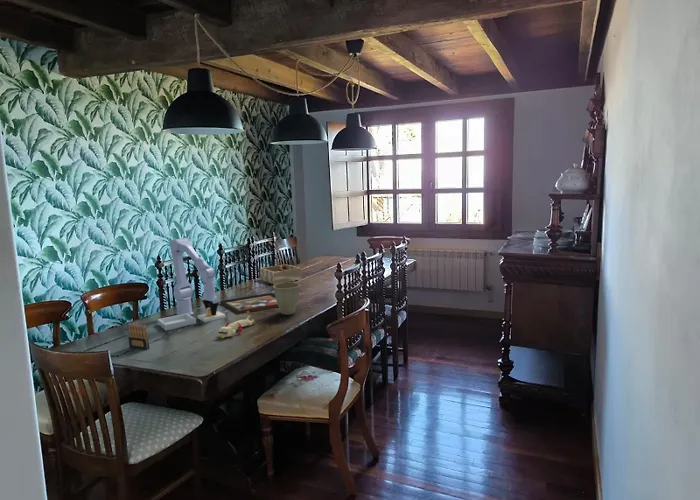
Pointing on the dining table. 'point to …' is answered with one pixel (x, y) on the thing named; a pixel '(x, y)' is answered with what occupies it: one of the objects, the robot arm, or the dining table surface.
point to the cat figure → (235, 326)
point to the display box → (280, 274)
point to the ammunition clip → (138, 337)
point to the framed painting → (251, 303)
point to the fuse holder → (211, 317)
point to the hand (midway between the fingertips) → (211, 313)
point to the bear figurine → (282, 268)
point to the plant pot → (287, 296)
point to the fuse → (208, 312)
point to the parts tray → (176, 321)
